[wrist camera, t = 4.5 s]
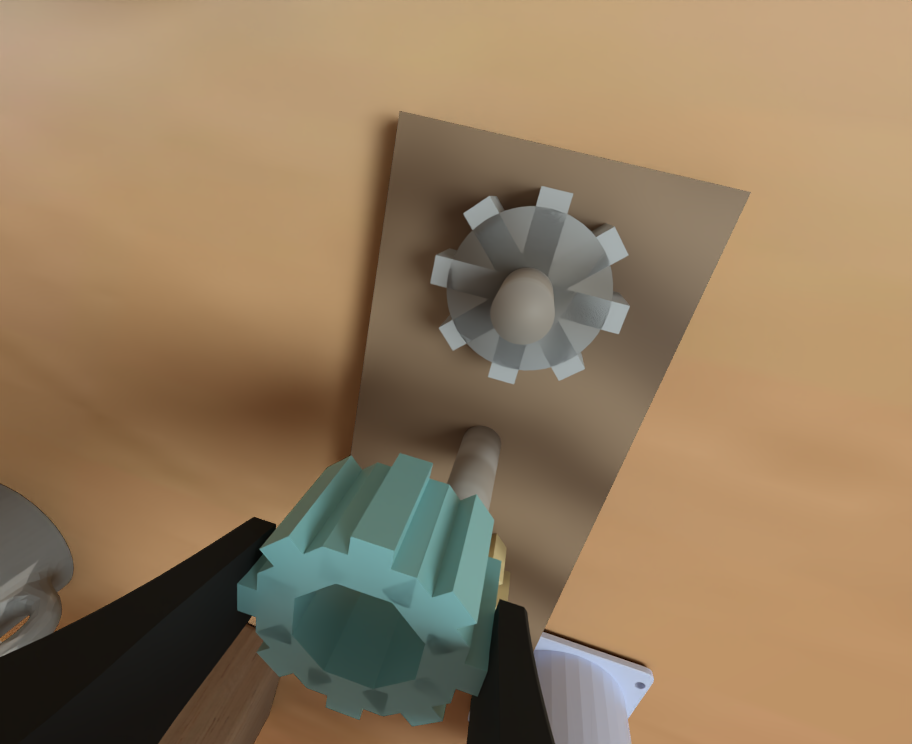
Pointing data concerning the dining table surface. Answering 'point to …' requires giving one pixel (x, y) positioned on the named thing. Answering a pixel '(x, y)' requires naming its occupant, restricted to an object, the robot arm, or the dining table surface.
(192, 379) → the dining table surface
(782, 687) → the dining table surface
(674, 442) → the dining table surface
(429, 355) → the gear board
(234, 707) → the wooden block
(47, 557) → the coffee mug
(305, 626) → the teal gear
